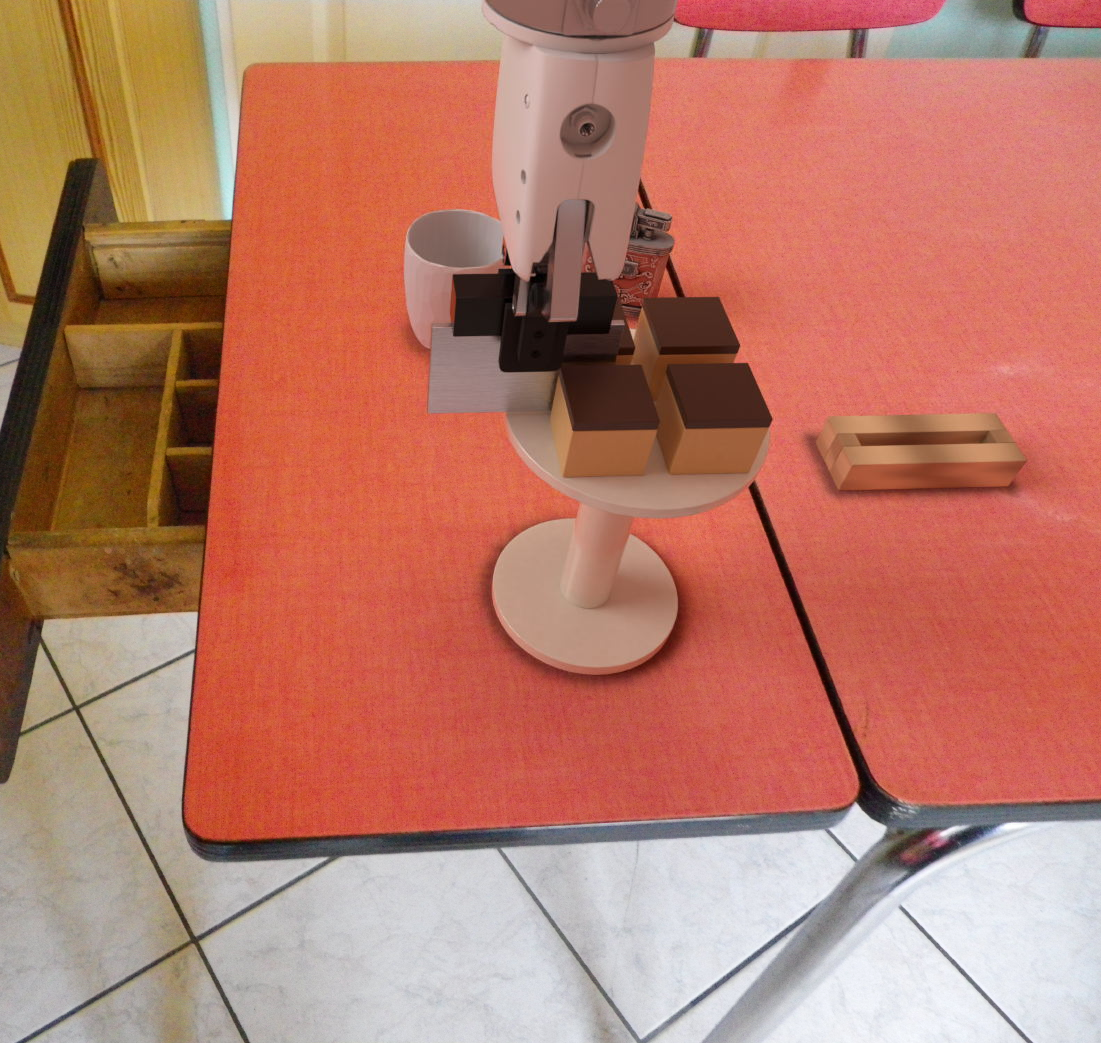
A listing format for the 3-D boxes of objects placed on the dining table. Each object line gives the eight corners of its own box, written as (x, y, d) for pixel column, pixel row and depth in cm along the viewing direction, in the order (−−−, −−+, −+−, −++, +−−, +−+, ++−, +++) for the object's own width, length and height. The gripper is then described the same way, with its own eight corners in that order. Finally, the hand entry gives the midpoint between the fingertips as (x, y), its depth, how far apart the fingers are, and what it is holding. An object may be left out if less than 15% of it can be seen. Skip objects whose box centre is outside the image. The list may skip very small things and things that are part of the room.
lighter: (567, 300, 90) (585, 205, 83) (577, 280, 92) (595, 186, 85) (651, 322, 89) (677, 227, 81) (659, 302, 91) (685, 207, 83)
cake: (700, 350, 58) (719, 296, 55) (749, 473, 51) (773, 419, 48) (534, 353, 57) (543, 298, 54) (562, 477, 51) (574, 423, 48)
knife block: (978, 439, 80) (996, 412, 77) (1008, 486, 76) (1027, 460, 74) (815, 442, 79) (828, 415, 77) (837, 490, 75) (852, 464, 73)
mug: (397, 305, 89) (399, 209, 82) (491, 301, 90) (502, 205, 82) (412, 397, 81) (417, 300, 73) (516, 391, 82) (531, 295, 74)
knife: (599, 396, 55) (629, 271, 48) (606, 420, 53) (638, 295, 47) (425, 399, 54) (432, 273, 48) (428, 424, 53) (435, 298, 46)
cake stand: (724, 581, 69) (811, 395, 55) (626, 729, 61) (699, 555, 47) (547, 487, 75) (586, 297, 61) (436, 611, 67) (452, 425, 53)
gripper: (738, 65, 31) (626, 457, 45) (633, -98, 42) (569, 262, 56) (512, 66, 31) (470, 461, 45) (463, -99, 41) (441, 264, 55)
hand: (525, 348), depth 50 cm, fingers closed on knife, 2 cm apart
